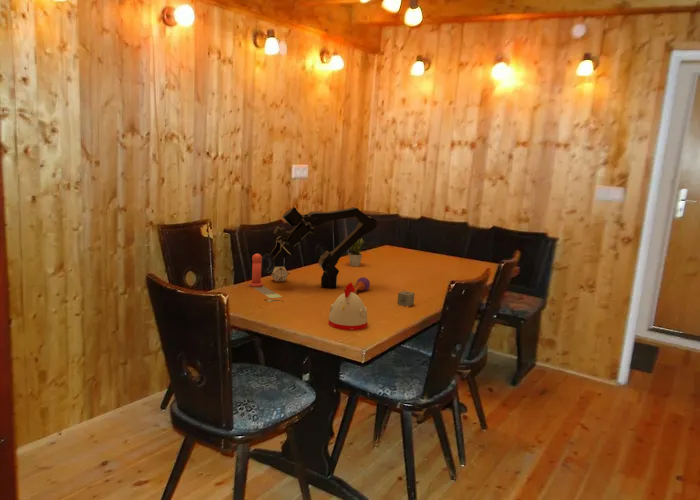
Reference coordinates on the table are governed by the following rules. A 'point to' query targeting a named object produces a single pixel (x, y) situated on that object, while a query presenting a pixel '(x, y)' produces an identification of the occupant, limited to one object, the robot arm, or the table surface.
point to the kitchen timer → (348, 311)
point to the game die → (279, 274)
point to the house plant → (356, 254)
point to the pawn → (256, 271)
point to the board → (271, 295)
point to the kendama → (362, 284)
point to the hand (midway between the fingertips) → (271, 258)
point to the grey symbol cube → (406, 298)
